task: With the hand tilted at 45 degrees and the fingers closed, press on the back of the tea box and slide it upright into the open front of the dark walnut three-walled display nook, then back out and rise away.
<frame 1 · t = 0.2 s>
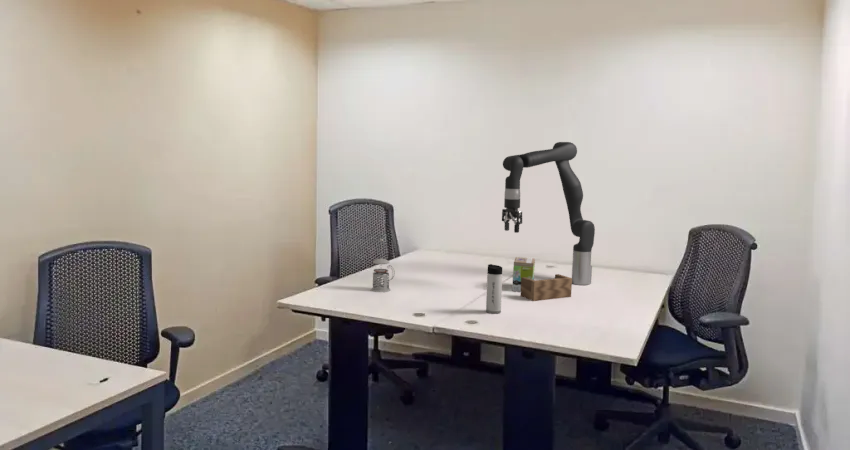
hand: (511, 231, 308), 29 cm above the table, tool pointing down, fingers open, 8 cm apart
display nook: (544, 296, 302), on the table
french press: (382, 290, 306), on the table
tea box: (523, 289, 316), on the table
travel mug: (493, 312, 270), on the table
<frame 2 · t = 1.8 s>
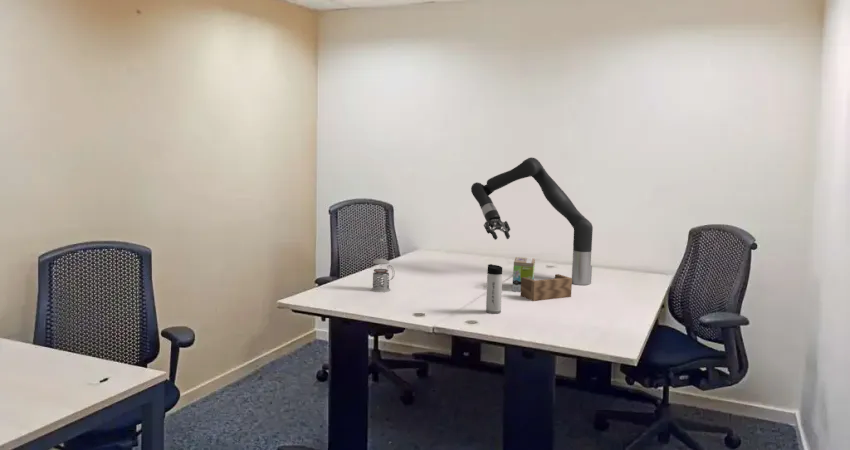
hand: (502, 238, 331), 23 cm above the table, tool tilted 45°, fingers open, 7 cm apart
nothing on the table moved.
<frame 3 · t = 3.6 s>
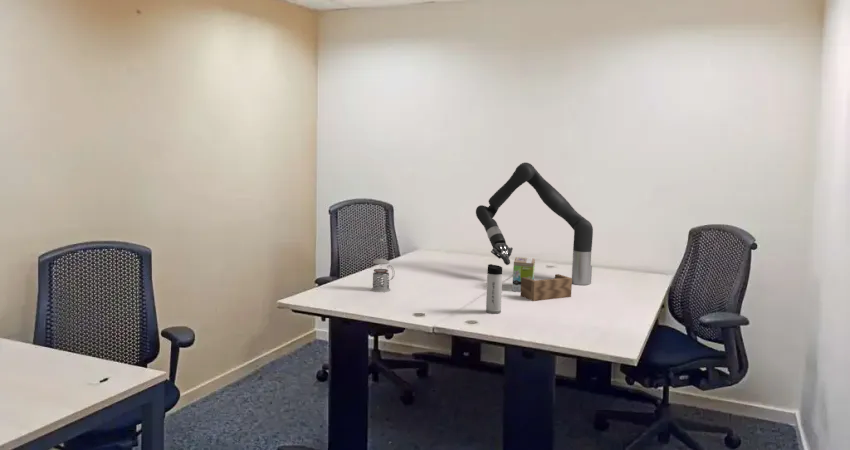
hand: (508, 263, 327), 10 cm above the table, tool tilted 45°, fingers closed
nothing on the table moved.
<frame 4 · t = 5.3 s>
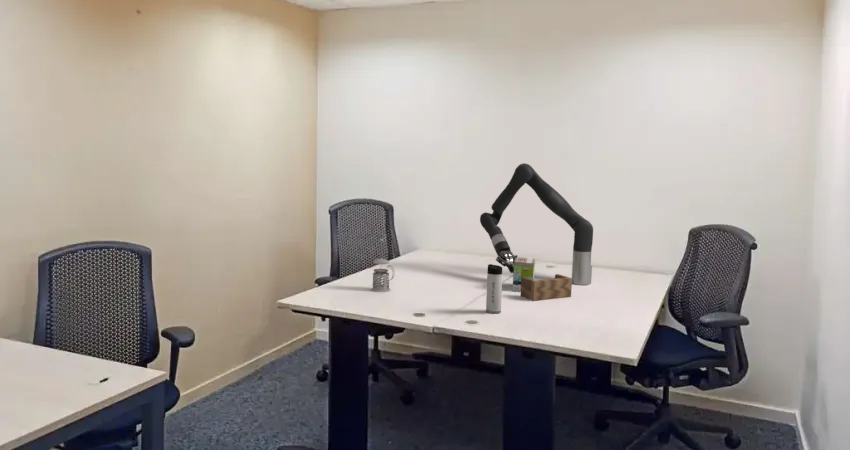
hand: (513, 272, 323), 7 cm above the table, tool tilted 45°, fingers closed
tea box: (523, 289, 316), on the table, touching gripper
everything else where it was.
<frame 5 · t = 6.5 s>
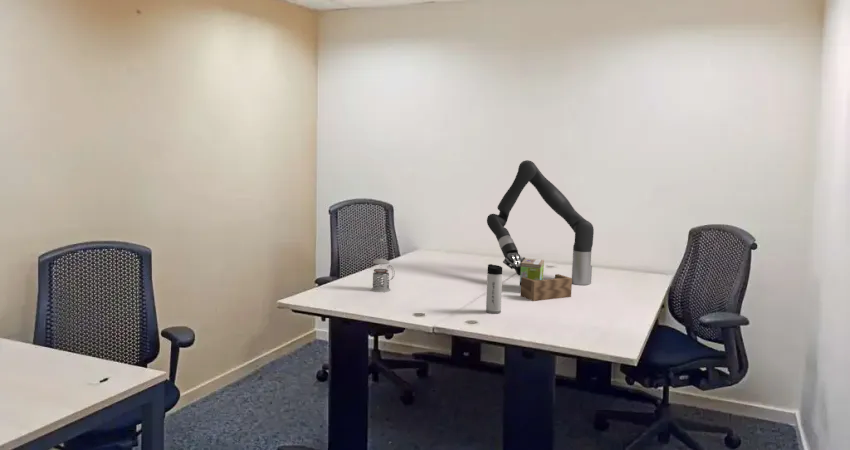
hand: (520, 274, 318), 7 cm above the table, tool tilted 45°, fingers closed
tea box: (531, 290, 313), on the table, touching gripper
everything else where it was.
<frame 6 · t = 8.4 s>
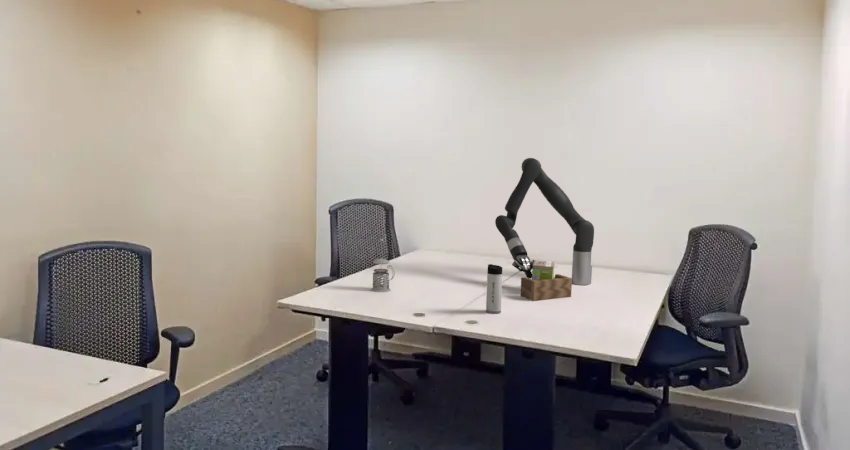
hand: (530, 277, 310), 7 cm above the table, tool tilted 45°, fingers closed
tea box: (541, 293, 308), on the table
everything else where it was.
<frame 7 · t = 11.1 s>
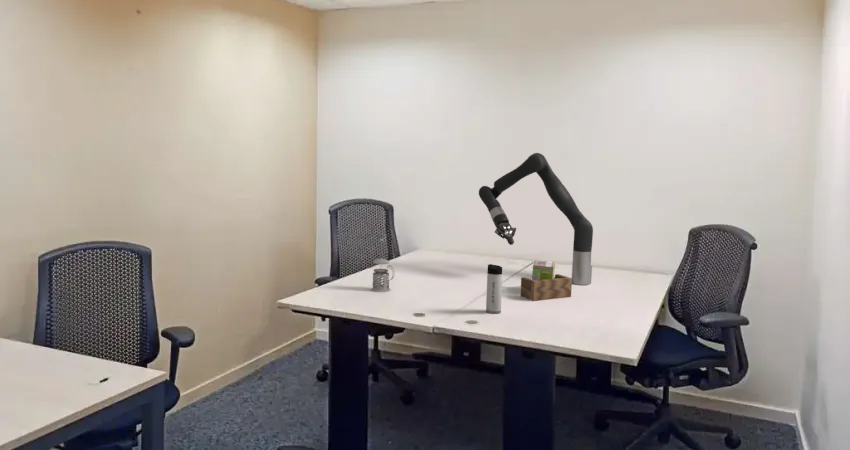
hand: (512, 243, 326), 21 cm above the table, tool tilted 45°, fingers closed
nothing on the table moved.
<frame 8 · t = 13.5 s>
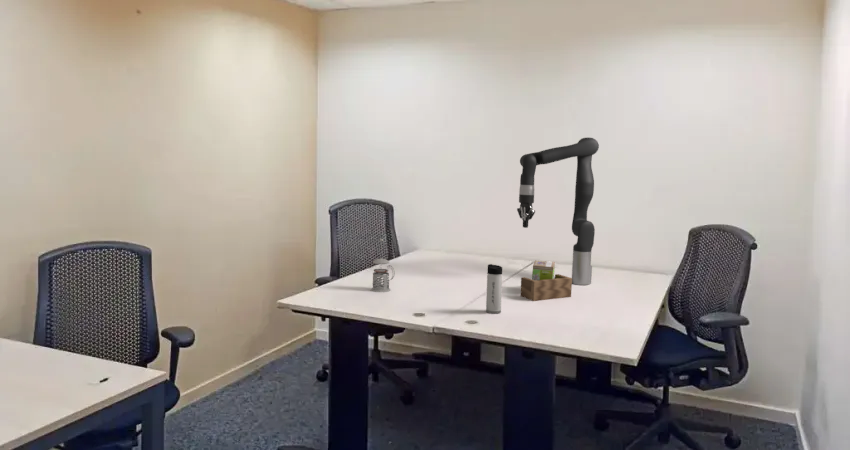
hand: (525, 227, 326), 29 cm above the table, tool pointing down, fingers closed
nothing on the table moved.
at the end: tea box inside the target area (3.6 cm from its centre), on the table; tea box tilted 0° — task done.
